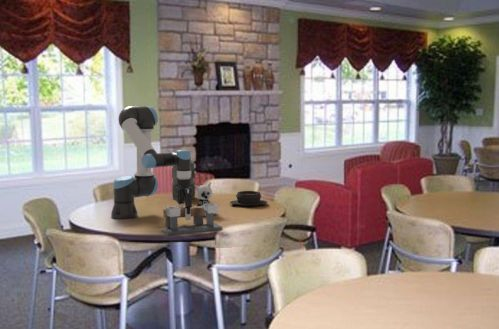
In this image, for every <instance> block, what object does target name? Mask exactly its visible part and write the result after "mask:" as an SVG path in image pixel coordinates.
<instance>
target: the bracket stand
mask: <svg viewBox="0 0 499 329" xmlns="http://www.w3.org/2000/svg"><path fill="white" fill-rule="evenodd" d="M165 209H166V215H168V216H169V217H170V228H168V227H163V228H161V232H162V233H164V234H165V235H166V236H172V235H174V236H175V235H182V234H183V235H186V234H194V233H202V232H203V233H204V232H213V231H221V229H222V230H223V226H222V225H220V224H218V223H216V222H215V221H214V220H215V218H214V216H215V214H218V213H219V210H218V204H216V203H214V202H212V203H211V202H210V203H208V204H203V211H204V212H206V216H205V217H206V218H205V219H206V222H205V223H203V224H200V225H195V224H191V225H190V224H189V225H181V226H179V225H178V218H177V216H180V208H178V207H177V205H174V206H166V207H165ZM214 213H215V214H214Z"/></svg>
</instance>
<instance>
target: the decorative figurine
mask: <svg viewBox="0 0 499 329" xmlns="http://www.w3.org/2000/svg"><path fill="white" fill-rule="evenodd" d="M211 184H212V181H210V182H208V183H207V184H202V185H201V184H200V186H199V185H197V184H195V185H194V186H195V195H196V196H197V198H198V199H199V200H198V202H197V205H195V206H194V207H197V206H203V204H208V203H211V202H210V198H211V197H212V196H213V195H212V194H213V190H212V188H211ZM214 215H216V213H214ZM203 217H206V212H205V215H203Z"/></svg>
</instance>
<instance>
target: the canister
mask: <svg viewBox="0 0 499 329" xmlns="http://www.w3.org/2000/svg"><path fill="white" fill-rule="evenodd" d="M191 172H192V173H191V177H190V179H191V185H190V186H188V189H190V195H191V200H194V199H195V198H196V188H195V186H194V185H196V184H195V178H196V177H195V176H196V175H195V162H194V161H192V160H191ZM171 178H172V184H171V186H172V188H171V189H172V192H171V194H172V198H173V199H174V200H176V201H177V196H178V185H177V179H178V178H177V166H172V168H171Z"/></svg>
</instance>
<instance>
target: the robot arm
mask: <svg viewBox="0 0 499 329" xmlns="http://www.w3.org/2000/svg"><path fill="white" fill-rule="evenodd" d="M118 124H119V127H120V128H121V130H122V131H124V132H125V133H126V134H127V135H128V136H129V138H130V140H131V141H132V143H133V144H134V146H135V147H136V172H135V173H134V175H126V176H123V175H122V176H120V177H117V178H114V180H113V184H112V185H113V186H112V187H113V188H112V189H113V206H112V210H111V213H110V214H111V215H110V218H112V219H118V220H122V219H123V220H124V219H126V220H127V219H133V218H137V217H138V215H139V214H138V209H137V207H136V205H135V199H136V198H142V197H149V196H154V195H155V194H156V193H157V191H158V188H159V181H158V178H157V176H155V173H153V170H152V169H154V168H165V167H173V166H177V178H178V179H177V185H178V196H177V200H176V203H177V205H178V207H177V208H185V217H184V218H185V220H184V221H190V220H191V219H192V217H191V207H193V204H192V199H191V195H190V189H188V186H190V185H191V179H190V177H191V173H192V172H191V161H192V160H191V159H192V156H191V151H190V149H177V150H176V152H173V151H168V152H163V153H160V152H159V153H157V151H156V149H155V148H154V146H153V145H152V132H153V131H154V127H155V126H156V125H157V124H158V113H157V111H156V109H155V108H154V107H153V106H146V105H145V106H142V105H139V106H137V105H136V106H131V105H130V106H126V107H124V108H123V109H122V110H121V111H120V113H119V115H118ZM184 205H185V207H184Z"/></svg>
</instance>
